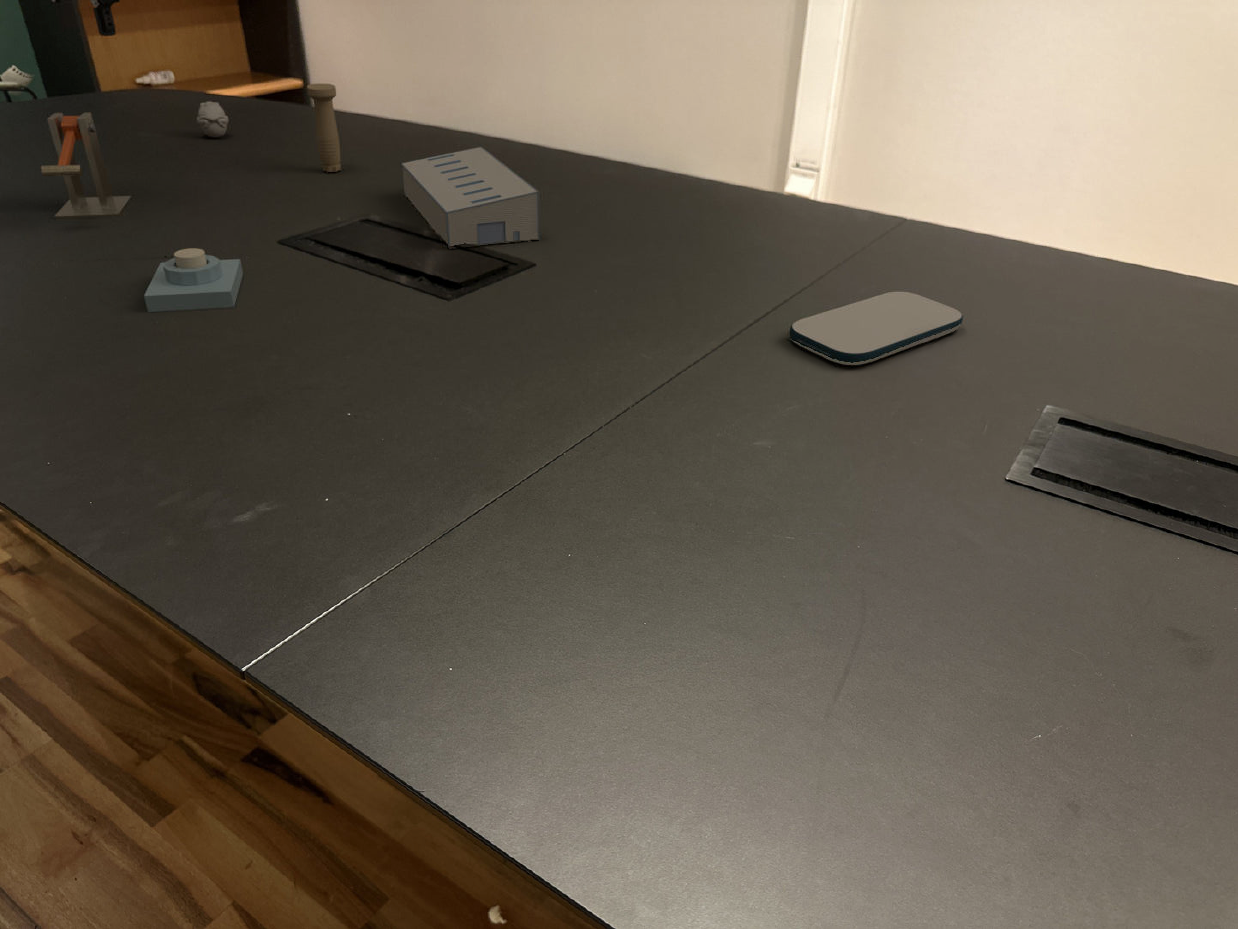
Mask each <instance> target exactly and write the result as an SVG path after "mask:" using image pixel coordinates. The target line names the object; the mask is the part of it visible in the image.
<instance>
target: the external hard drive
mask: <svg viewBox="0 0 1238 929" xmlns="http://www.w3.org/2000/svg"><path fill="white" fill-rule="evenodd" d="M963 320H964V316H963V314H962V312H961V311H960V310H958V309H956V308H954V307H952V306H949V305H947V304H944V303H941V302H939V301H936V300H933V299H931V298H928V297H926V296H923V295H920V294H917V293H913V292H909V291H898V290H897V291H889V292H884V293H880V294H878V295H874V296H871V297H868V298H865V299H861V300H858V301H855V302H852V303H849V304H844V305H842V306H839V307H835V308H832V309H829V310H825V311H823V312H820V313H816V314H812V315H809V316H806V317H803V318H800V319H798V320H796V321H794V322H793V323H792V324H791V326H790V327H789V332H788V333H789V334H788V335H790V337H789V339H790V338H791V339H792V340H793V341H796V342H798V343H800V344H801V345H803V346H806V347H809V348H811V349H813V350H814V351H817V352H819V353H822V354H824V355H826V356H828V357H830V358H832V359H837V360H839V361H844V362H851V363H853V362H860V361H866V360H869V359H874V358H876V357H879V356H881V355H883V354H885V353H889V352H891V351H893V350H896V349H898V348H900V347H904V346H906V345H909V344H911V343H913V342H916V341H919V340H922V339H924V338H927V337H930V336H932V335H936V334H938V333H941V332H943V331H946V330H949V329H952V328H954V327H956V326H958V325H959V324H961V323H962V324H963ZM962 324H961V325H962ZM912 336H913V337H912ZM825 345H826V346H825Z"/></svg>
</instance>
